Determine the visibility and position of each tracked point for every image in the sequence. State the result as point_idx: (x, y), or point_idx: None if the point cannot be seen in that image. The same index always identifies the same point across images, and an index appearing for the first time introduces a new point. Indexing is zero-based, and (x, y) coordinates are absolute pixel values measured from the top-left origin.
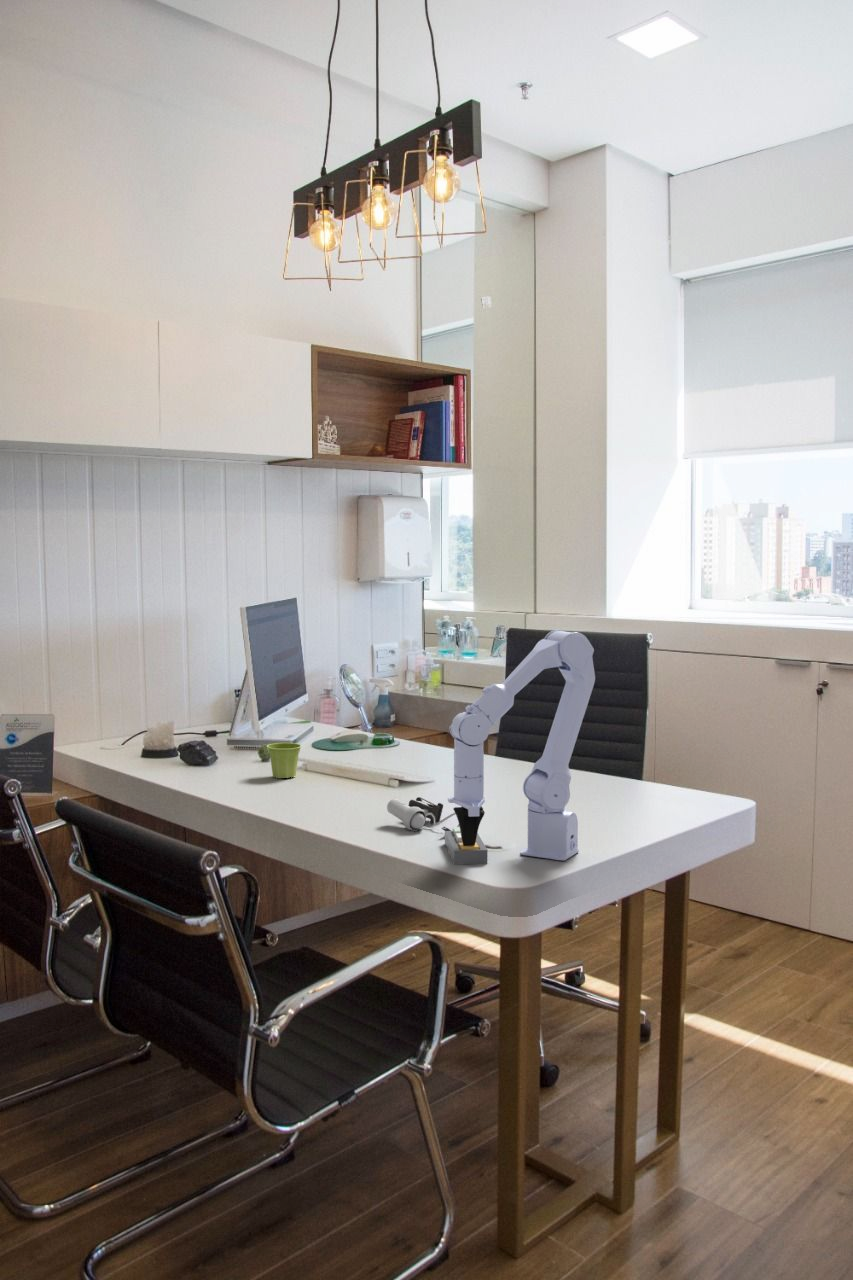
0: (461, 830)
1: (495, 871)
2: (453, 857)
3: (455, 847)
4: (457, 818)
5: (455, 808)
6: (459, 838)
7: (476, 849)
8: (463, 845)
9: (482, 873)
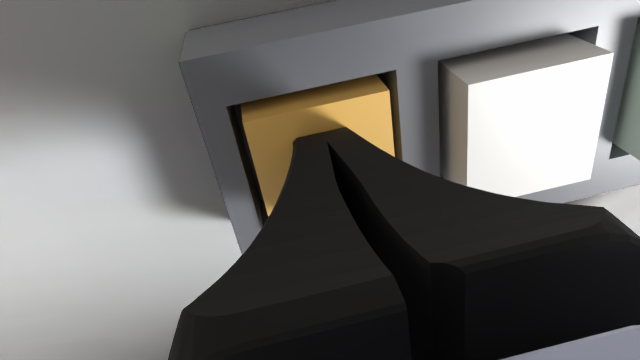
0: (277, 199)
1: (93, 275)
2: (228, 32)
3: (295, 63)
4: (479, 196)
5: (568, 274)
6: (464, 94)
7: (252, 217)
8: (304, 133)
9: (23, 221)
